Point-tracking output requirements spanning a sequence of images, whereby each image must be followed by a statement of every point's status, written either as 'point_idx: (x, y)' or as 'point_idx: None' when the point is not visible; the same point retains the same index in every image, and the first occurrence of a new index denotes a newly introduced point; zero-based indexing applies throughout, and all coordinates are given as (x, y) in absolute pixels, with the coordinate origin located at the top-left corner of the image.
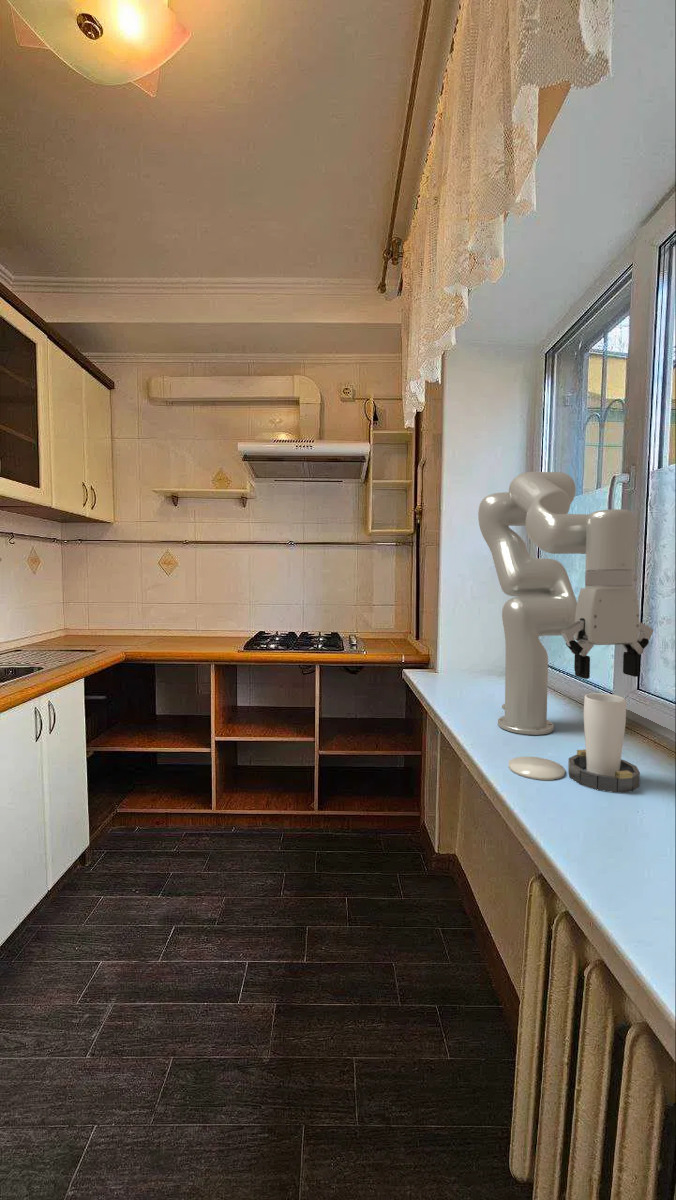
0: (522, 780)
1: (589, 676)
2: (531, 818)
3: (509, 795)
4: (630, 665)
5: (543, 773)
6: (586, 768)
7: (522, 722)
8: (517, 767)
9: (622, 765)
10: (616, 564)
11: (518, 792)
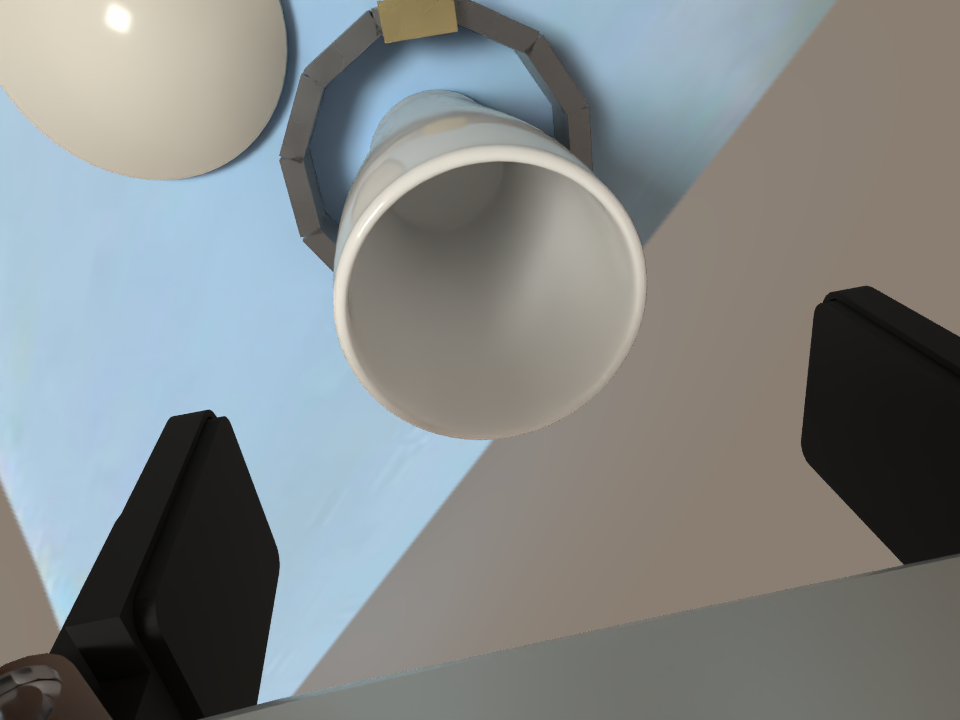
0: (42, 172)
1: (275, 574)
2: (37, 477)
3: None
4: (872, 462)
5: (153, 134)
6: (372, 140)
7: None
8: (19, 47)
9: (563, 119)
10: None
11: (9, 295)
